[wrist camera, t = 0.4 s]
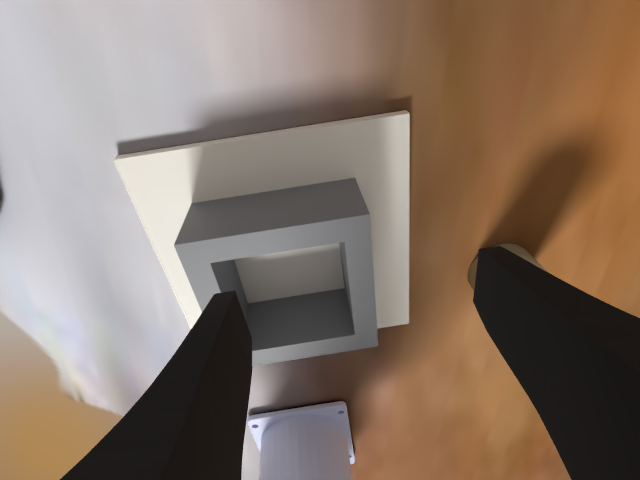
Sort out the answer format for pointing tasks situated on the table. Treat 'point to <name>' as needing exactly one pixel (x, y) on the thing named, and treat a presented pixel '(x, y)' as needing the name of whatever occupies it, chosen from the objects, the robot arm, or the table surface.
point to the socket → (286, 230)
